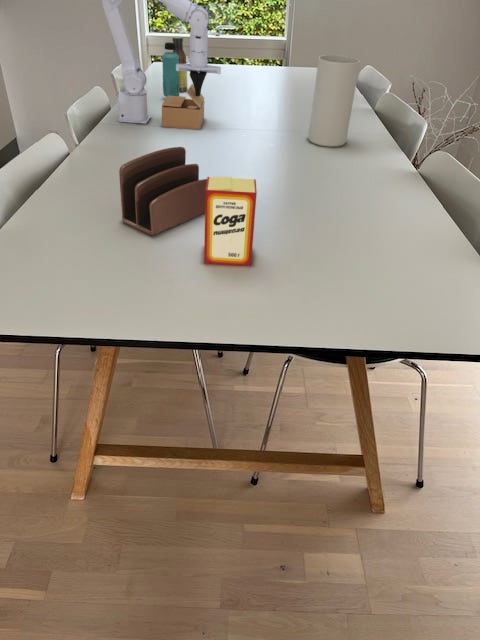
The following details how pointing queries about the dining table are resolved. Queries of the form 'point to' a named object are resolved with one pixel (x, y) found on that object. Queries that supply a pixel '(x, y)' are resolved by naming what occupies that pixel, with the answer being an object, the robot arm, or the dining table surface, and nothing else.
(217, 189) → the baking soda box
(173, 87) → the beverage bottle
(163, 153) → the letter holder
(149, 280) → the dining table surface
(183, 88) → the sauce bottle
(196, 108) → the spice jar
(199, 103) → the flap
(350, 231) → the dining table surface
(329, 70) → the cylinder vase
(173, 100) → the carton
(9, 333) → the dining table surface
